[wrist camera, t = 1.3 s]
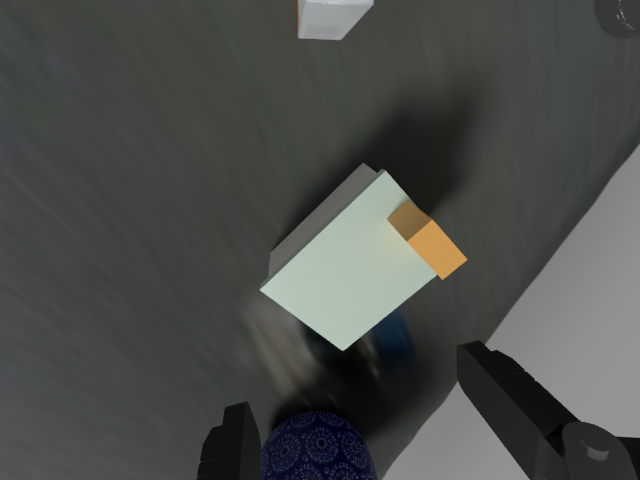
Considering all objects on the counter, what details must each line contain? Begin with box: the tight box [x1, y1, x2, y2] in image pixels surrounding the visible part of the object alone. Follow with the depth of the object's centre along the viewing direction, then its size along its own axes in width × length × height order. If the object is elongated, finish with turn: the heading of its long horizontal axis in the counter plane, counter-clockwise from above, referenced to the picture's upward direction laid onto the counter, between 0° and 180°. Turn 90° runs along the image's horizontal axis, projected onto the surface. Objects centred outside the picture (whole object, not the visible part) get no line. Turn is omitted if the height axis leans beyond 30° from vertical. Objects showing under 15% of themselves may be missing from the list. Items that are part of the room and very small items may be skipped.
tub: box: [268, 163, 377, 277], centre depth 34 cm, size 15×11×7 cm
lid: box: [260, 169, 467, 351], centre depth 29 cm, size 16×12×7 cm
